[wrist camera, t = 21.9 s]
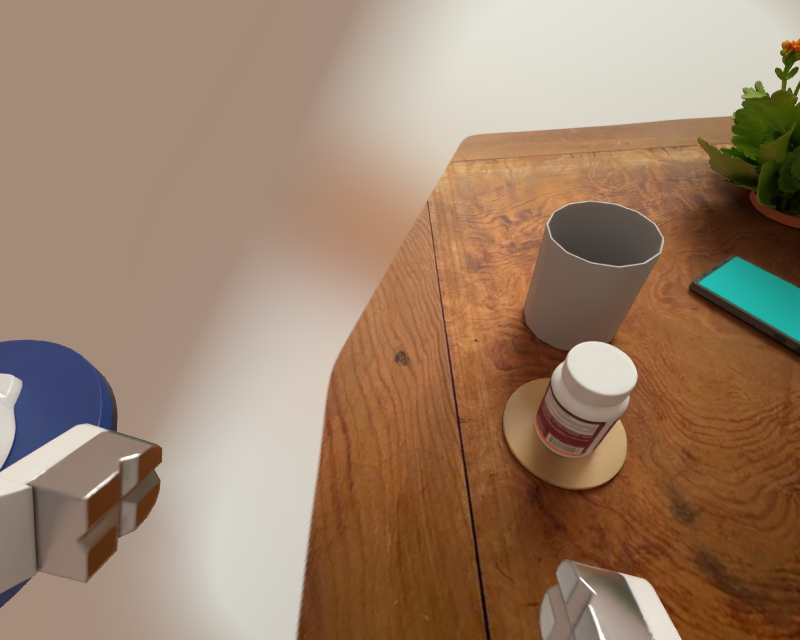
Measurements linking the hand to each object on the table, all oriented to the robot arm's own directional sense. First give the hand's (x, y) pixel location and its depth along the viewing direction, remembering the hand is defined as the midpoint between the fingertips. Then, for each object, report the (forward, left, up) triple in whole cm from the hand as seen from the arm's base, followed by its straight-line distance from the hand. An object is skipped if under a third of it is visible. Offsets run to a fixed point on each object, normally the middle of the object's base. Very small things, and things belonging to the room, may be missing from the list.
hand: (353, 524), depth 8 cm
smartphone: (+27, +32, -21) cm, 47 cm away
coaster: (+8, +15, -21) cm, 27 cm away
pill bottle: (+8, +15, -20) cm, 27 cm away
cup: (+8, +27, -21) cm, 35 cm away
